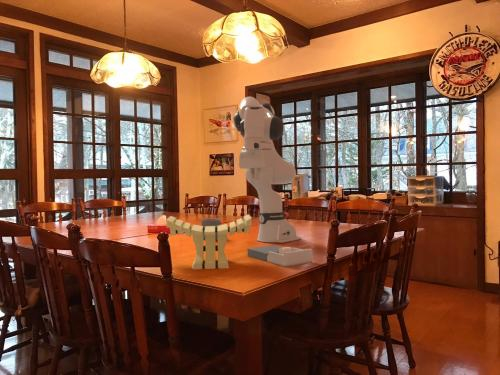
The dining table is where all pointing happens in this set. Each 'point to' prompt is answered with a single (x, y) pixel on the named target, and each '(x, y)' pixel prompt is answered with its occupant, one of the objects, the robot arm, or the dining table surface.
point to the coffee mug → (211, 222)
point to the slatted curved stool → (209, 240)
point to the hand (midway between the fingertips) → (255, 179)
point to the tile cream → (285, 250)
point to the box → (290, 257)
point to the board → (262, 251)
